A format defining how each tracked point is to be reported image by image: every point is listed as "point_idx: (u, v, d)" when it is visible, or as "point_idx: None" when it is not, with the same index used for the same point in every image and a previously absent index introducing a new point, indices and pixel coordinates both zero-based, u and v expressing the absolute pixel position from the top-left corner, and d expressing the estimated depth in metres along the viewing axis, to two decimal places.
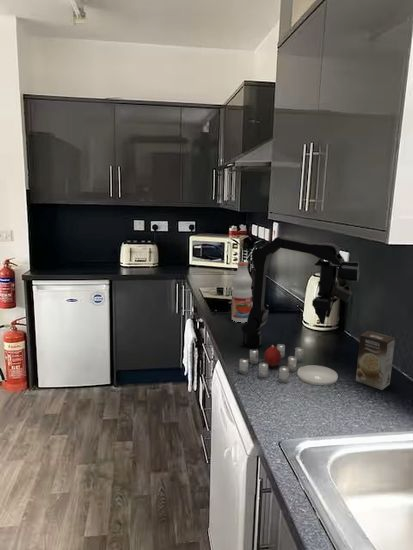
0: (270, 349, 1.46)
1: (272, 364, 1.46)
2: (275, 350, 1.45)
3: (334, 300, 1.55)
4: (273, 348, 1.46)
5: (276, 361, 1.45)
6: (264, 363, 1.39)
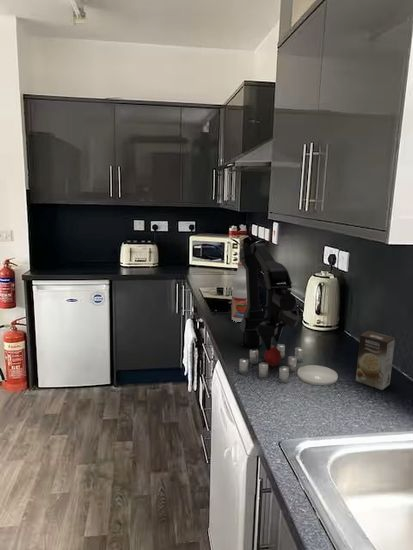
0: (270, 349, 1.46)
1: (272, 364, 1.46)
2: (275, 350, 1.45)
3: (283, 324, 1.49)
4: (273, 348, 1.46)
5: (276, 361, 1.45)
6: (264, 363, 1.39)
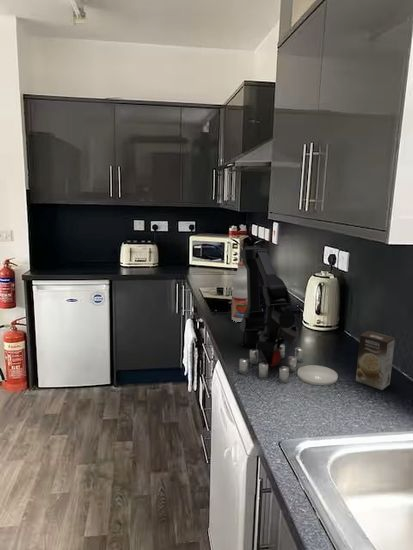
0: None
1: (272, 364, 1.46)
2: None
3: (281, 341, 1.49)
4: None
5: (276, 361, 1.45)
6: (264, 363, 1.39)
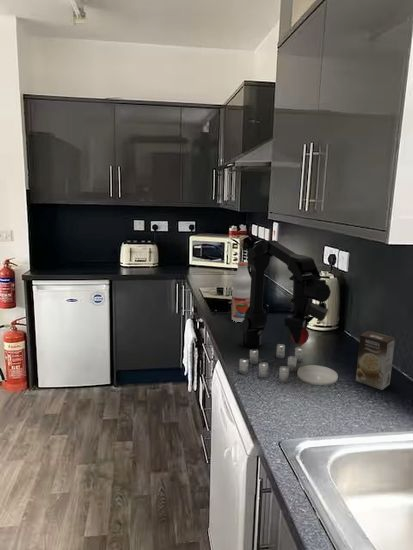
0: None
1: (299, 343, 1.39)
2: None
3: (309, 319, 1.42)
4: None
5: (304, 340, 1.38)
6: (264, 363, 1.39)
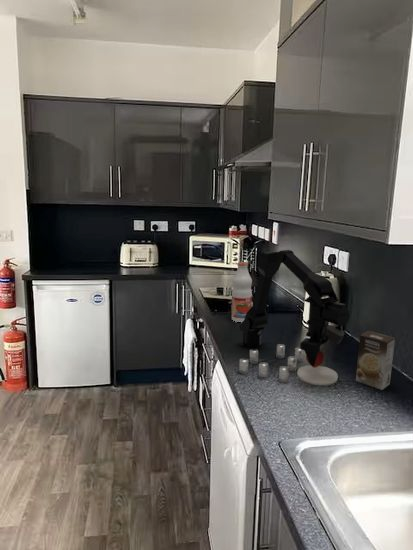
0: None
1: (315, 365, 1.38)
2: None
3: (324, 341, 1.41)
4: None
5: (319, 362, 1.37)
6: (264, 363, 1.39)
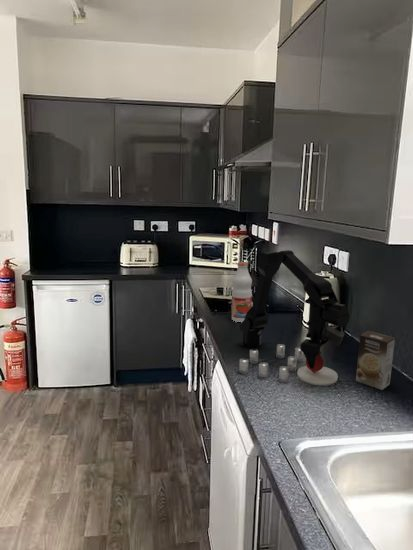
0: None
1: (315, 370, 1.38)
2: (318, 356, 1.37)
3: (325, 341, 1.42)
4: None
5: (319, 367, 1.37)
6: (264, 363, 1.39)
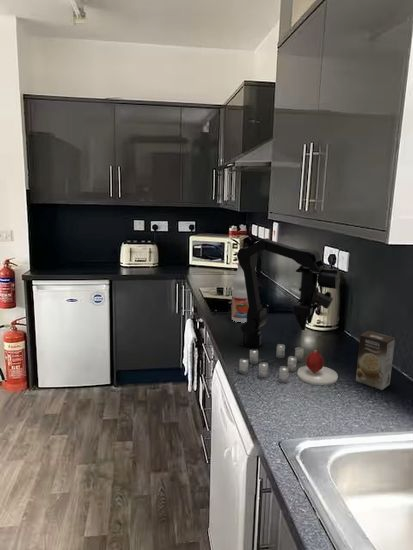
0: (312, 354, 1.38)
1: (315, 370, 1.38)
2: (318, 355, 1.38)
3: (316, 306, 1.56)
4: (316, 353, 1.38)
5: (319, 367, 1.37)
6: (264, 363, 1.39)
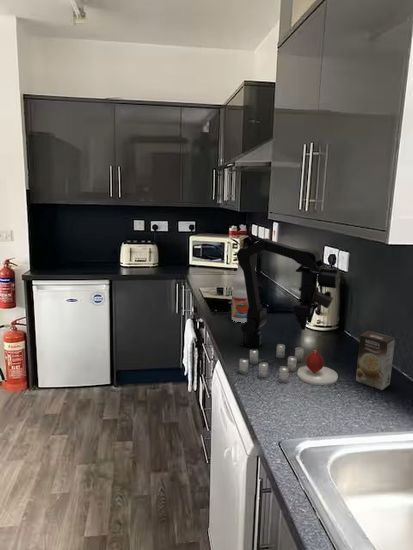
0: (312, 355, 1.38)
1: (315, 370, 1.38)
2: (318, 356, 1.38)
3: (316, 306, 1.56)
4: (316, 353, 1.38)
5: (319, 367, 1.37)
6: (264, 363, 1.39)
